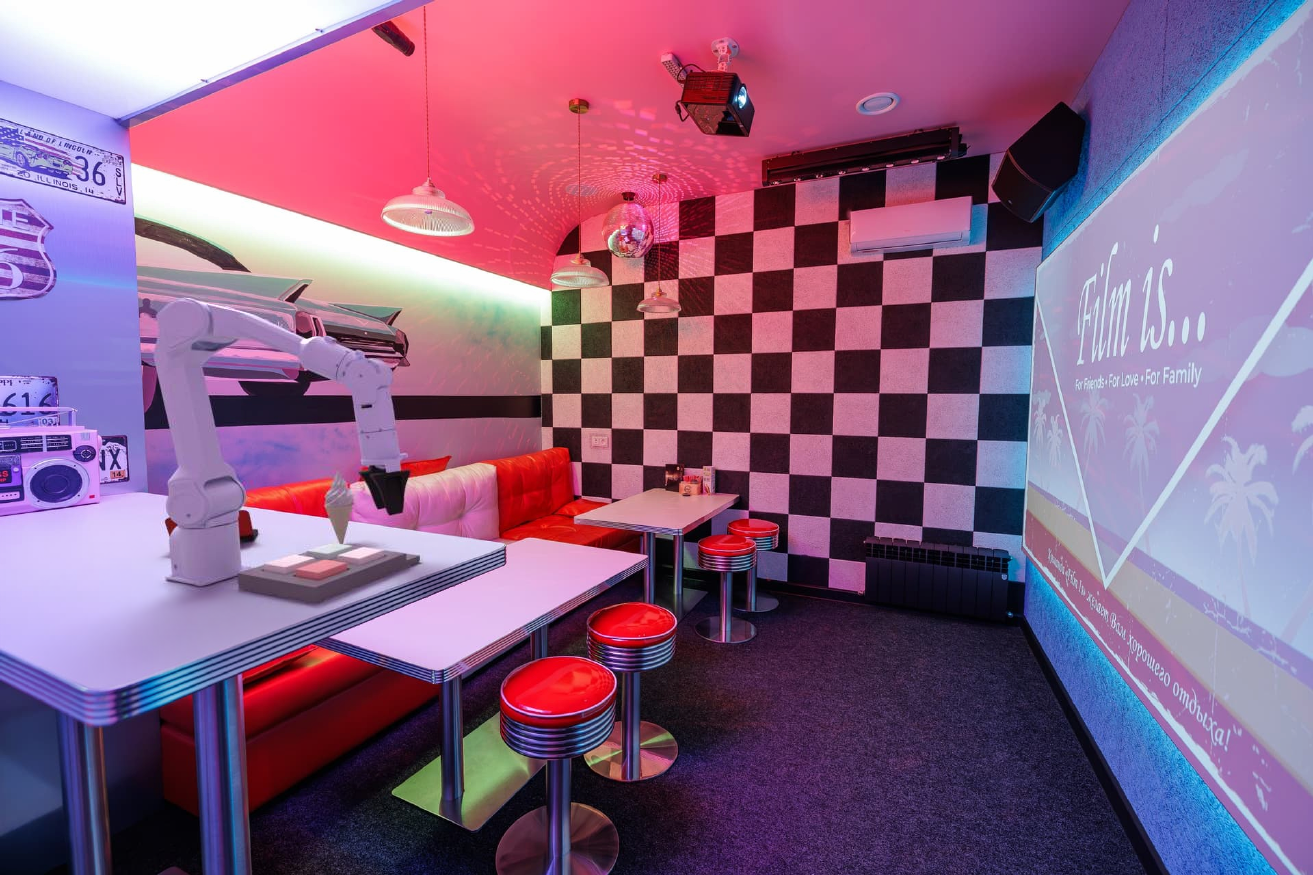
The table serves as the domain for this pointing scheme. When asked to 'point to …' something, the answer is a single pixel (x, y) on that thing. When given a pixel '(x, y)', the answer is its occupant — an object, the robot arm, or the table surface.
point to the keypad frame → (326, 587)
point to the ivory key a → (288, 564)
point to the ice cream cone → (339, 506)
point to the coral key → (321, 569)
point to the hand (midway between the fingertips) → (389, 510)
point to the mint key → (329, 551)
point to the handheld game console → (243, 522)
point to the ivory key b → (360, 556)
